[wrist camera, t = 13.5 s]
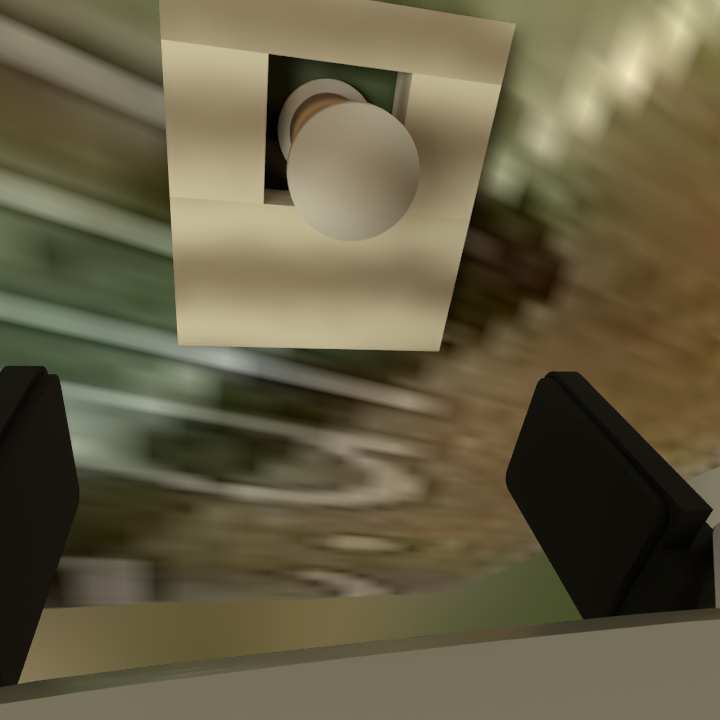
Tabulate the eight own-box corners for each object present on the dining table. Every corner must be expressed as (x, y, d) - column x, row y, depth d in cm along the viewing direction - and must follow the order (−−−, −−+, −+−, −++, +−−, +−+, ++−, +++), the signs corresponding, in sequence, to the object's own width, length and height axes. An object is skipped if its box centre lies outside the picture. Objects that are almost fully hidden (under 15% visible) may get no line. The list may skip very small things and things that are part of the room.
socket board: (426, 328, 37) (439, 351, 35) (183, 320, 34) (178, 345, 31) (492, 23, 28) (516, 23, 25) (166, -30, 25) (156, -35, 22)
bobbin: (366, 184, 31) (407, 245, 23) (275, 176, 30) (284, 236, 22) (378, 84, 29) (431, 112, 20) (279, 71, 27) (291, 95, 19)
